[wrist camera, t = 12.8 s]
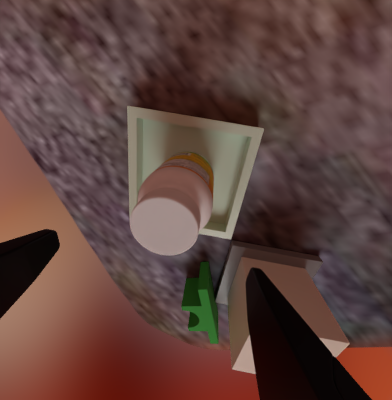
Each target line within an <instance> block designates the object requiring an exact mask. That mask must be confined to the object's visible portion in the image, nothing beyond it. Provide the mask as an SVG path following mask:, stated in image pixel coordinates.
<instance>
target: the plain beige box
mask: <svg viewBox="0 0 392 400" xmlns="http://www.w3.org/2000/svg"><path fill="white" fill-rule="evenodd" d="M322 263H323V261H322V260H321V259H320V257H319V256H315V255H310V254H304V253H299V252H293V251H288V250H283V249H277V248H272V247H266V246H261V245H255V244H250V243H245V242H239V241H234V240H232V242H231V245H230V248H229V252H228V255H227V258H226V262H225V265H224V268H223V271H222V275H221V278H220V281H219V285H218V288H217V291H216V295H215V303H220V304H225V305H228V318H229V333H230V348H231V363H232V369H233V370H239V371H243V372H248V373H253V374H256V372H255V366H254V360H253V353H252V347H251V341H250V334H249V328H248V320H247V304H246V286H245V284H246V278H247V276H248V273H249V271H250V269H251V268H252V267H255V268H260V269H261V270H262V271H263V272H264V273H265V274H266V275H267V277H268V278H269V279H270V280H271V281H272V282H273V284H274V285H275V286H276V287H277V288H278V290H279V291H280V292H281V293H282V294H283V296H284V297H285V298H286V299H287V300H288V302H289V303H290V304H291V305H292V306H293V308H294V309H295V310H296V311H297V312H298V313H299V315H300V316H301V317H302V318H303V319H304V321H305V322H306V323H307V324H308V325H309V327H310V328H311V329H312V330H313V331H314V333H315V334H316V335H317V336H318V337H319V339H320V340H321V341H322V342H323V343H324V344H325V346H326V347H327V348H328V349H329V350H330V352H331V353H332V355H333V356H334V357H337V356H338V355H339V354H340V353H341V352H342V351H343V350H344V349H345V348H346V347H347V346H348V345H349V344H350V343H349V341H348V340H347V338H346V336H345V335H344V333H343V331H342V329H341V328H340V326H339V324H338V323H337V321H336V319H335V318H334V316H333V314H332V313H331V311H330V309H329V308H328V306H327V304H326V303H325V301H324V299H323V297H322V296H321V294H320V292H319V291H318V289H317V287H316V286H315V284H314V282H313V281H312V279H313V277H314V276H315V274H316V273H317V271H318V269H319V268H320V266H321V265H322Z"/></svg>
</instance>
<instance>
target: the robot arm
mask: <svg viewBox="0 0 392 400" xmlns="http://www.w3.org/2000/svg"><path fill="white" fill-rule="evenodd" d="M59 246H60V243H59V239H58V235H57V232H56V231H54V230H49V229H44V230H41V231H38V232H35V233H31V234H28V235H25V236H22V237H18V238H15V239H12V240H9V241H6V242H2V243H0V318H1V317H2V316H3V315H4V314H5V313H6V312H7V311H8V310H9V308H10V307H11V306H12V305H13V304H14V303H15V302H16V301H17V300H18V299H19V297H20V296H21V295H22V294H23V293H24V292H25V291H26V290H27V289H28V287H29V286H30V285H31V284H32V283H33V282H34V280H35V279H36V278H37V277H38V276H39V274H40V273H41V272H42V270H43V269H44V268H45V266H46V265H47V264H48V263H49V261H50V260H51V259H52V257H53V256H54V255H55V253H56V252H57V251H58V249H59ZM245 286H246V304H247V320H248V328H249V334H250V341H251V347H252V353H253V360H254V366H255V372H256V379H257V384H258V391H259V397H260V400H372V399H371V398H370V397H369V396H368V395H367V394H366V393H365V391H364V390H363V389H362V388H361V387H360V386H359V385H358V383H357V382H356V381H355V380H354V379H353V378H352V376H351V375H350V374H349V373H348V372H347V371H346V370H345V368H344V367H343V366H342V365H341V363H340V362H339V361H338V360H337V359H336V357H334V356H333V355H332V353H331V352H330V350H329V349H328V348H327V347H326V346H325V344H324V343H323V342H322V341H321V340H320V339H319V337H318V336H317V335H316V334H315V333H314V331H313V330H312V329H311V328H310V327H309V325H308V324H307V323H306V322H305V321H304V319H303V318H302V317H301V316H300V315H299V313H298V312H297V311H296V310H295V309H294V308H293V306H292V305H291V304H290V303H289V302H288V300H287V299H286V298H285V297H284V296H283V294H282V293H281V292H280V291H279V290H278V288H277V287H276V286H275V285H274V284H273V282H272V281H271V280H270V279H269V278H268V277H267V275H266V274H265V273H264V272H263V271H262V270H261V269H260V268H255V267H252V268H251V269H250V271H249V273H248V276H247V278H246V284H245Z"/></svg>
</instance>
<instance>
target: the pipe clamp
mask: <svg viewBox="0 0 392 400" xmlns="http://www.w3.org/2000/svg"><path fill="white" fill-rule="evenodd" d="M181 307H182V310H186V311H190V317H189V324H188V329H189V331H208V334H209V339H210V343H215V344H218V310H217V305H216V303H215V294H214V288H213V283H212V278H211V272H210V267H209V262H201V263H200V273H199V278H186V284H185V289H184V295H183V301H182V306H181Z"/></svg>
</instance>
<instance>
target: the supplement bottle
mask: <svg viewBox="0 0 392 400" xmlns="http://www.w3.org/2000/svg"><path fill="white" fill-rule="evenodd" d="M213 188H214V174H213V170H212V167H211V165H210V164H209V162H208V161H207V160H206V159H205V158H204V157H203V156H201V155H200V154H198V153H195V152H191V151H182V152H178V153H176V154H174V155H172V156H171V157H170V158H168V159H167V160H166V161H165V162H164V163H163V164H162V165H161V166H159V167H158V168H157V169H156V170H155V171H154V172H153V173H151V174H150V175H149V176H148V177H147V178H146V180H145V181H144V182H143V184H142V185H141V187H140V190H139V193H138V203H137V205H136V206H135V207H134V209H133V210H132V213H131V216H130V228H131V231H132V233H133V235H134V237H135V239H136V240H137V241H138V242H139V243H140V244H141V245H142V246H143V247H145V248H146V249H148V250H149V251H152V252H154V253H157V254H161V255H176V254H180V253H183V252H185V251H187V250H188V249H189V248H191V247H192V246H193V244H194V243H195V242H196V240H197V237H198V234H199V231H200V230H201V229H203V228H204V226H205V225H206V224H207V223H208V221H209V219H210V217H211V214H212V208H213Z"/></svg>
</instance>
